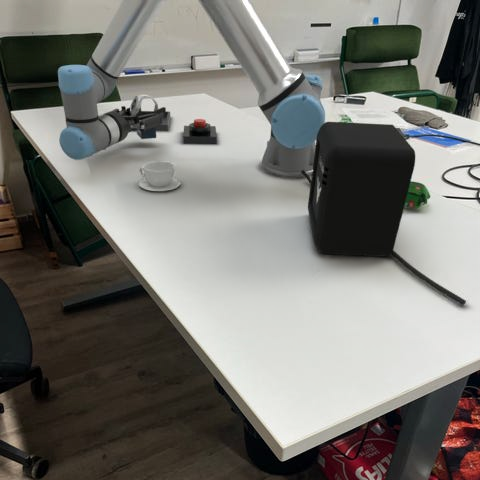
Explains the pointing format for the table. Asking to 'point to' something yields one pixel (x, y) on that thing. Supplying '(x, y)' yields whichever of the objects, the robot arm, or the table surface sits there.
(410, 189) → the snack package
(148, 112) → the tray
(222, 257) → the table surface
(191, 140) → the control block
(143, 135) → the watch
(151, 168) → the teacup
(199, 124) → the button
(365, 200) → the air purifier
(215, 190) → the table surface
